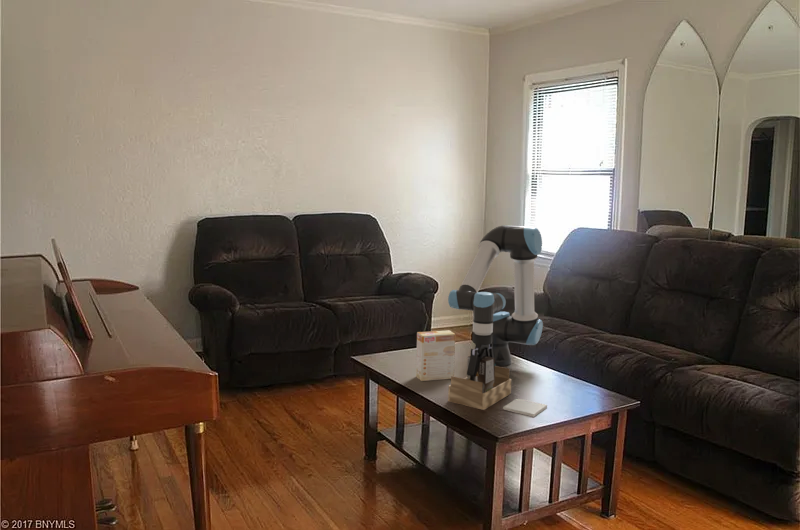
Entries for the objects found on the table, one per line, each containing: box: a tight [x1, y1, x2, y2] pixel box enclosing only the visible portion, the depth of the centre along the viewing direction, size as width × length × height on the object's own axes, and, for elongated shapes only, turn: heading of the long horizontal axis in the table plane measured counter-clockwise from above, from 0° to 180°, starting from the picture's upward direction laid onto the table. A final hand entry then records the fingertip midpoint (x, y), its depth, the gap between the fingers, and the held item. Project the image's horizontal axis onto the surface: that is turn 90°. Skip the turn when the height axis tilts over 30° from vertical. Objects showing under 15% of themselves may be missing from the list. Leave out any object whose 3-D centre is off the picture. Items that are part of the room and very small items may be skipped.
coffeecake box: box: [415, 329, 456, 382], centre depth 273 cm, size 15×7×20 cm, turn 108°
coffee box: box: [466, 355, 495, 393], centre depth 249 cm, size 9×6×16 cm
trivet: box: [502, 398, 548, 418], centre depth 239 cm, size 12×12×1 cm
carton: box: [447, 366, 512, 411], centre depth 250 cm, size 23×15×10 cm, turn 145°
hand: (480, 388), depth 250 cm, fingers open, 11 cm apart
